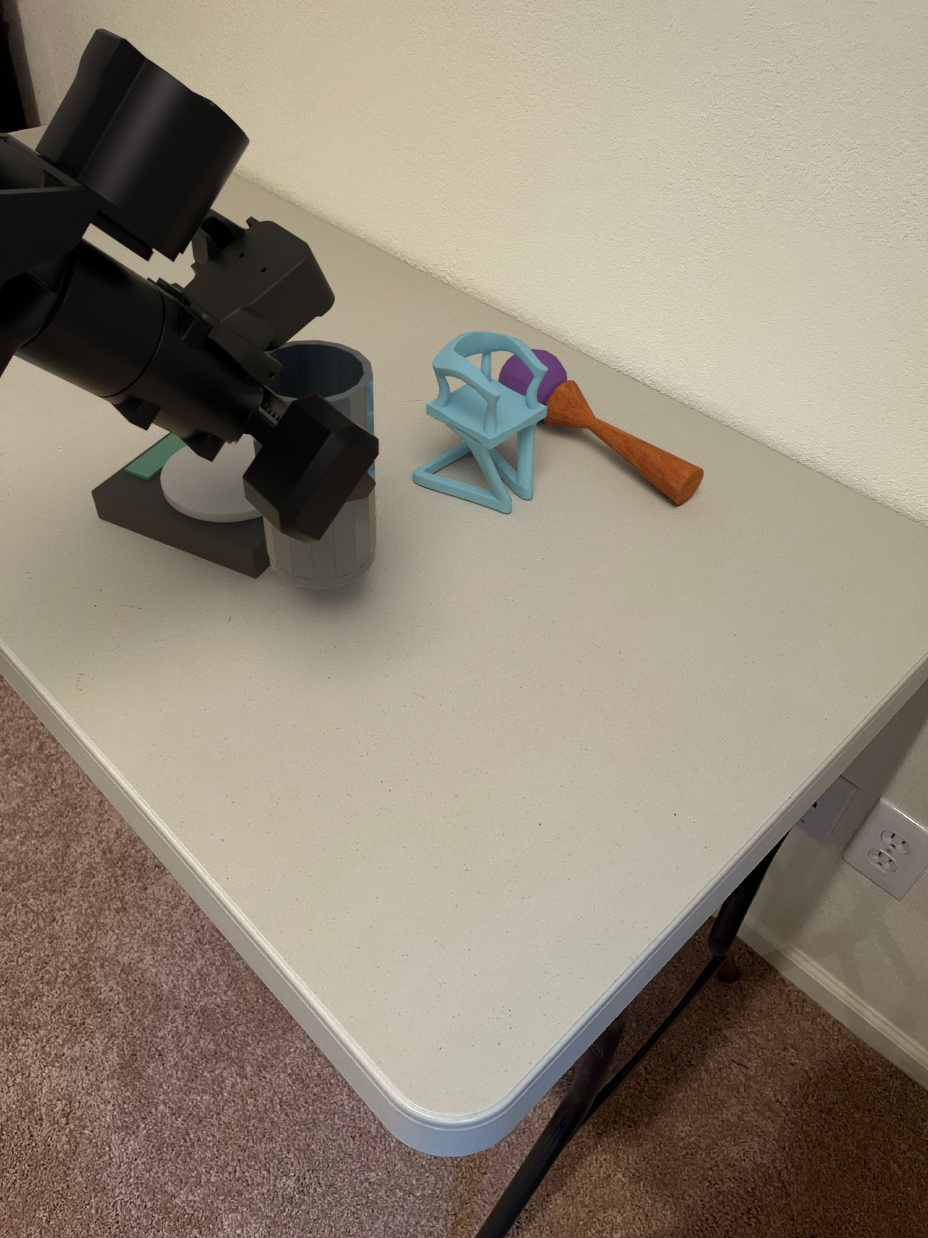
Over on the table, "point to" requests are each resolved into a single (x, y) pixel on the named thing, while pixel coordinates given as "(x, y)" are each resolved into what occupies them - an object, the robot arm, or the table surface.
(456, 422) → the chair
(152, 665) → the table surface
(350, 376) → the cup
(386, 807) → the table surface
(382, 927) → the table surface
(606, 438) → the kendama
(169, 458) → the scale
